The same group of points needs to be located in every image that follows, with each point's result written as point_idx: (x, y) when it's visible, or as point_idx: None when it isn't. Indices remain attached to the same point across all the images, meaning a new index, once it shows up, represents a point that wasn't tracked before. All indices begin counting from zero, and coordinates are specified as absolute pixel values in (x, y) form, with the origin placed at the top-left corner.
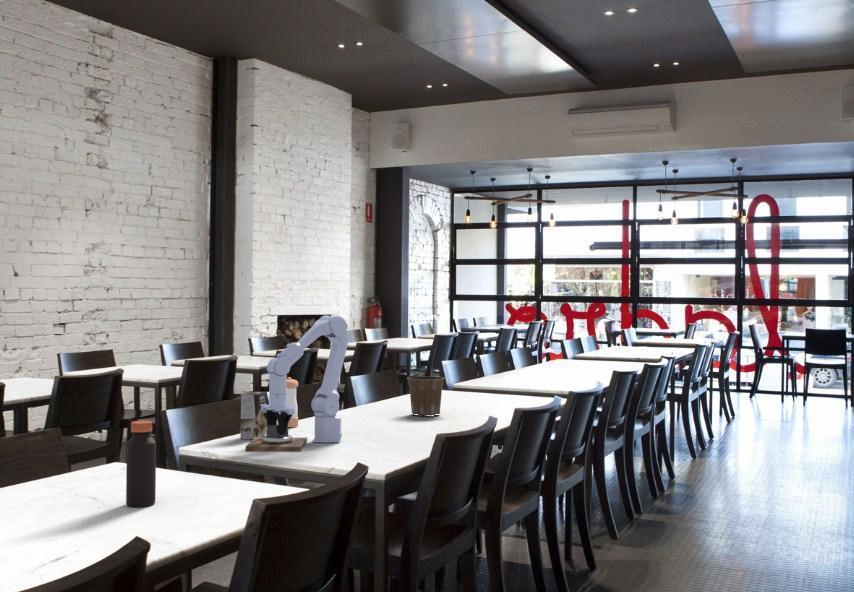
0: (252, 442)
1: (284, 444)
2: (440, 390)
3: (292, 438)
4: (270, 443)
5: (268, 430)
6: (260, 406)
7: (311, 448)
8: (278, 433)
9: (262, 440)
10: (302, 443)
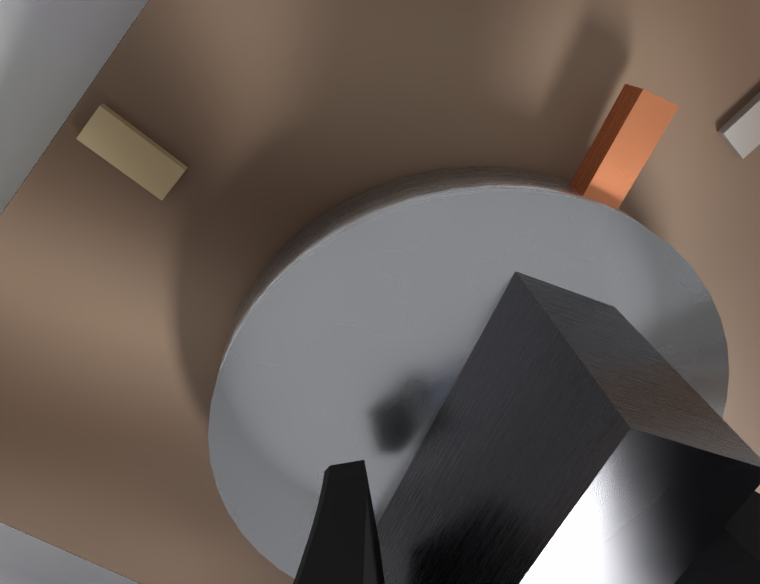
0: (722, 37)
1: (173, 363)
2: None
3: None
4: (338, 207)
5: (564, 368)
6: None
7: (50, 573)
8: (437, 486)
9: (575, 183)
10: (113, 566)
